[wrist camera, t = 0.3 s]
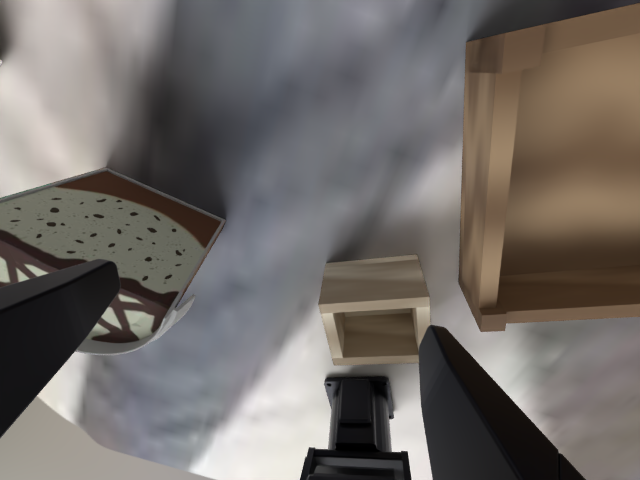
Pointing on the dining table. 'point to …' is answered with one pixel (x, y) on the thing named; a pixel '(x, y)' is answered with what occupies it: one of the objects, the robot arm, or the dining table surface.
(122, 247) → the food container
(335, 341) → the pale crate
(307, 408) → the dining table surface
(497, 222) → the crate
